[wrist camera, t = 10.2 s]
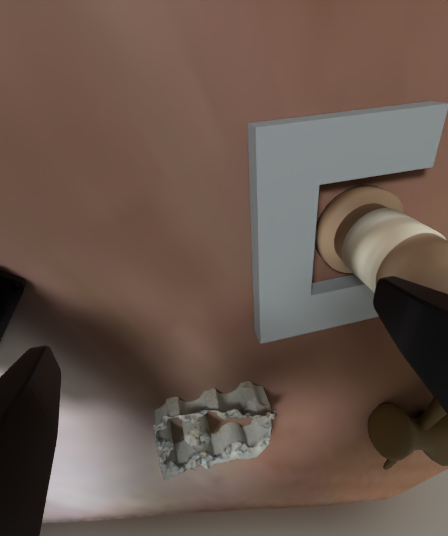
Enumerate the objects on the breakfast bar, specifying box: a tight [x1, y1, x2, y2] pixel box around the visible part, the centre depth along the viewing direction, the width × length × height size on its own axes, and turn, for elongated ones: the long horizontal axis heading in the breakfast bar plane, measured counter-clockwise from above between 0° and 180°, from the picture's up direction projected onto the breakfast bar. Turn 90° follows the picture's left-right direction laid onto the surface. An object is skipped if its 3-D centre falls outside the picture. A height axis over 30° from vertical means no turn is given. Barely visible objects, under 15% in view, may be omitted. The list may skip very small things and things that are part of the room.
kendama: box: [368, 397, 448, 470], centre depth 37 cm, size 6×10×20 cm
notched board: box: [248, 101, 448, 344], centre depth 24 cm, size 12×16×2 cm
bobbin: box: [315, 185, 448, 294], centre depth 19 cm, size 6×6×13 cm
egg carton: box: [153, 381, 276, 481], centre depth 30 cm, size 11×8×4 cm
